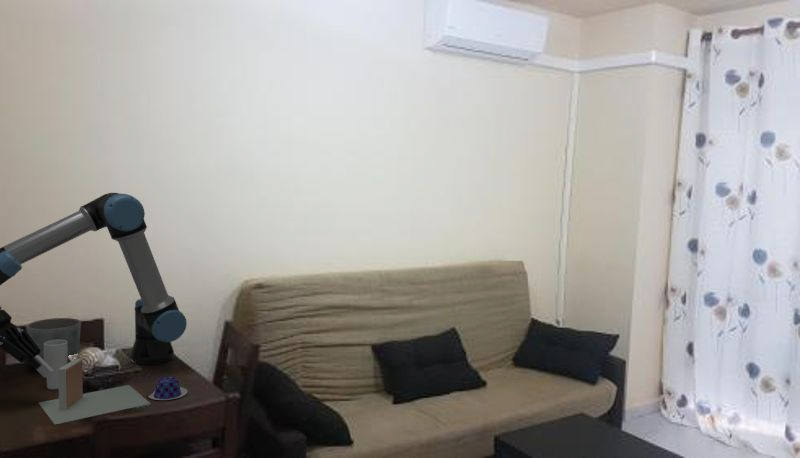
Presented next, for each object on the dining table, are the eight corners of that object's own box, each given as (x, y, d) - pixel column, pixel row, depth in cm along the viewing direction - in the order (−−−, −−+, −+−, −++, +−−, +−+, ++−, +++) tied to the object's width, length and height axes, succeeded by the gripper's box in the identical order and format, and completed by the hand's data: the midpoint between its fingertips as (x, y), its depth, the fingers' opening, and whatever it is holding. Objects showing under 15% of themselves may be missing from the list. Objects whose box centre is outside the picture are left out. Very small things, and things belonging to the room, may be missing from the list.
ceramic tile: (59, 409, 183) (58, 369, 181) (76, 396, 193) (75, 358, 191) (66, 409, 183) (65, 369, 182) (83, 397, 193) (82, 359, 191)
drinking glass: (39, 389, 200) (38, 343, 198) (59, 383, 206) (58, 338, 204) (53, 393, 197) (52, 346, 195) (73, 386, 203) (72, 341, 201)
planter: (69, 355, 235) (68, 315, 234) (90, 365, 224) (89, 323, 223) (19, 365, 222) (18, 323, 220) (39, 376, 211) (38, 332, 210)
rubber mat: (128, 386, 204) (128, 384, 204) (150, 405, 189) (150, 403, 189) (38, 404, 187) (38, 402, 187) (54, 426, 172) (54, 424, 172)
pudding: (173, 404, 192) (173, 387, 191) (138, 399, 194) (138, 383, 194) (194, 391, 203) (195, 375, 203) (162, 387, 206) (162, 371, 205)
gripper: (-4, 320, 191) (52, 375, 193) (-33, 331, 178) (27, 390, 180) (13, 304, 191) (69, 359, 193) (-15, 313, 178) (46, 372, 180)
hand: (49, 374), depth 186 cm, fingers closed
